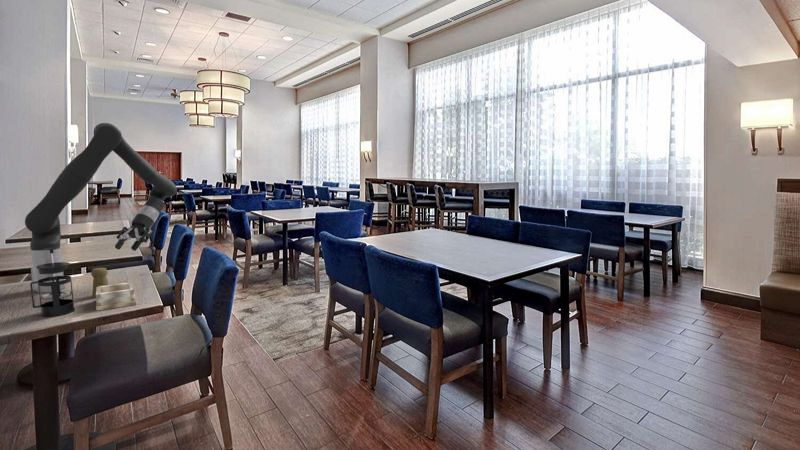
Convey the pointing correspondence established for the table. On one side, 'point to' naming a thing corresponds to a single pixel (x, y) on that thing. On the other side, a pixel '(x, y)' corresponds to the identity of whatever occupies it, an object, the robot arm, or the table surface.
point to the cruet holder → (115, 296)
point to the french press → (54, 289)
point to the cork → (99, 279)
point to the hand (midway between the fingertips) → (124, 249)
